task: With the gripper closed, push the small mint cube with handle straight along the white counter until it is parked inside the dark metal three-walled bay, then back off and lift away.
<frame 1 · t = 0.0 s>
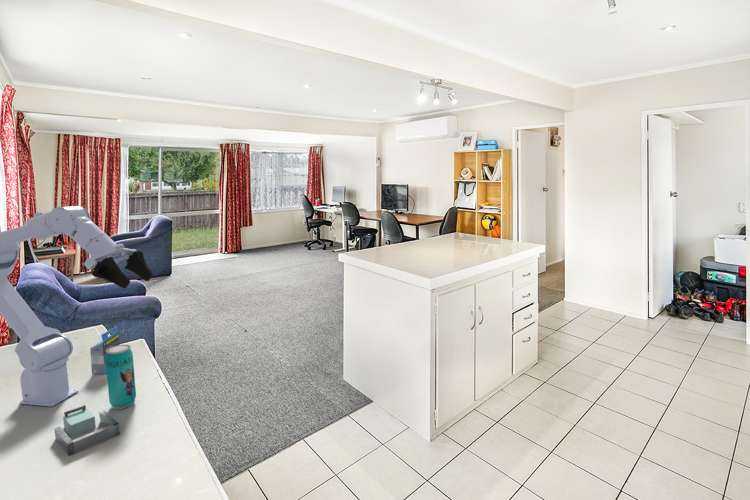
hand: (139, 281, 96), 32 cm above the worktop, tool tilted 50°, fingers open, 7 cm apart
bay: (87, 435, 89), on the worktop
label tape box: (107, 369, 122), on the worktop
mint cube with handle: (80, 428, 92), on the worktop
beverage can: (123, 405, 102), on the worktop
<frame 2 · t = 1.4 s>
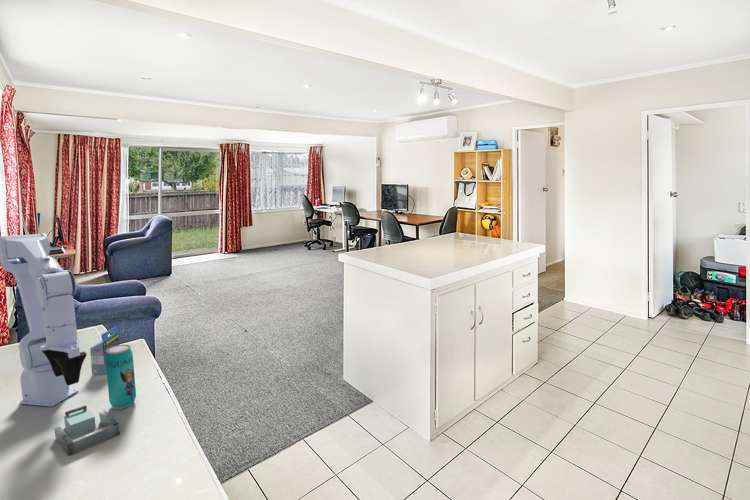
hand: (66, 379, 95), 10 cm above the worktop, tool pointing down, fingers open, 7 cm apart
nothing on the worktop moved.
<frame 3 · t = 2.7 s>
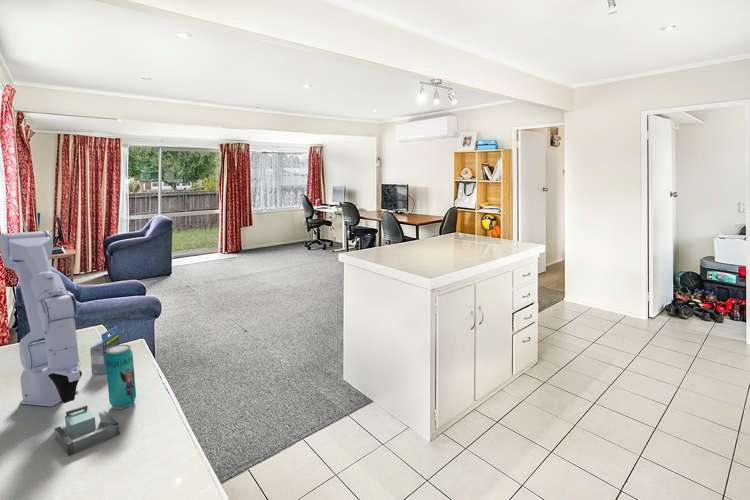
hand: (68, 400, 96), 4 cm above the worktop, tool pointing down, fingers closed
nothing on the worktop moved.
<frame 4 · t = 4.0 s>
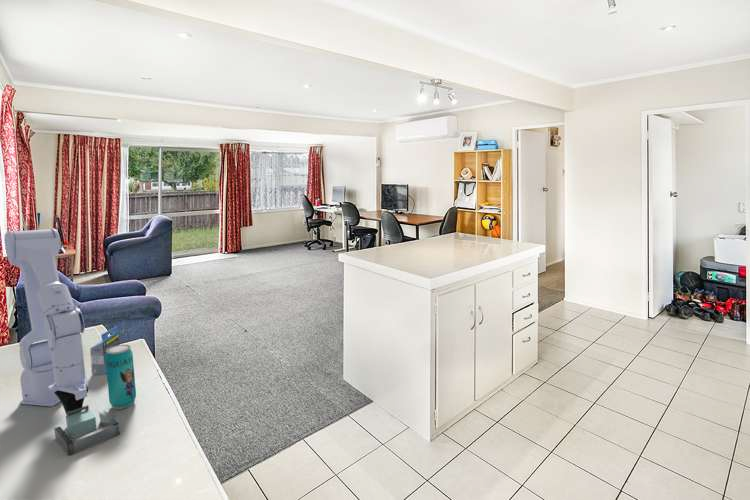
hand: (74, 417, 94), 1 cm above the worktop, tool pointing down, fingers closed
mint cube with handle: (81, 428, 92), on the worktop, touching gripper
everything else where it was.
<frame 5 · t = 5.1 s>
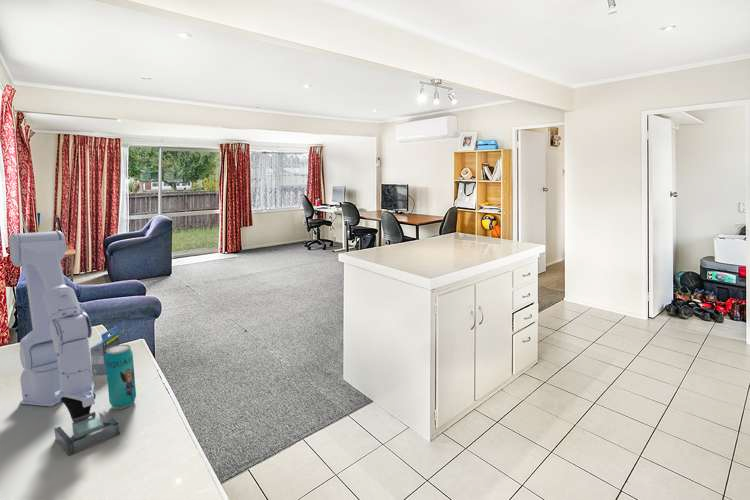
hand: (81, 425, 91), 1 cm above the worktop, tool pointing down, fingers closed
mint cube with handle: (89, 436, 89), on the worktop, touching gripper
everything else where it was.
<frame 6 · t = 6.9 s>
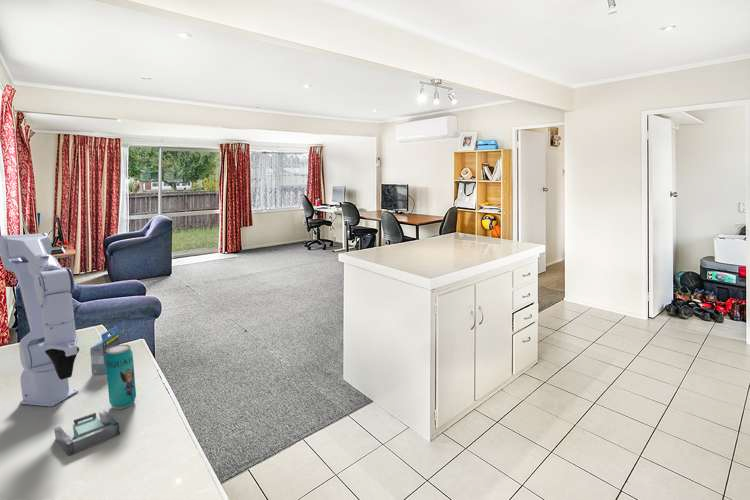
hand: (65, 377, 94), 10 cm above the worktop, tool pointing down, fingers closed
mint cube with handle: (89, 437, 89), on the worktop
everything else where it was.
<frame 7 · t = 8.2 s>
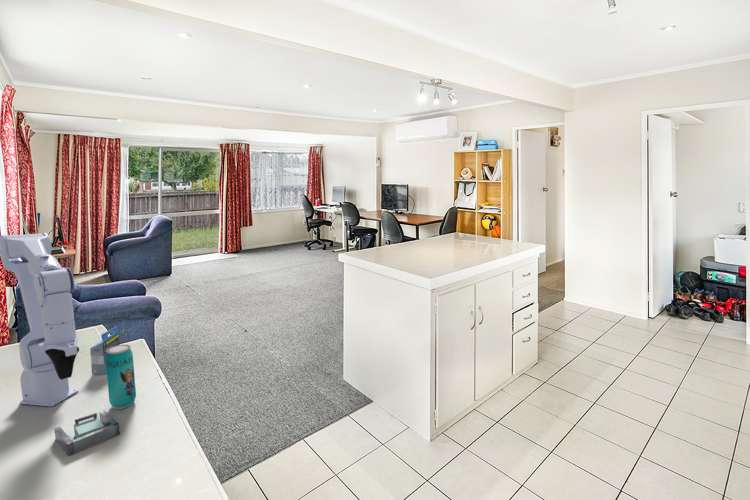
hand: (65, 377, 94), 10 cm above the worktop, tool pointing down, fingers closed
nothing on the worktop moved.
at the end: mint cube with handle 0.7 cm from the bay (horizontally); mint cube with handle tilted 0°; the gripper is holding nothing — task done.
